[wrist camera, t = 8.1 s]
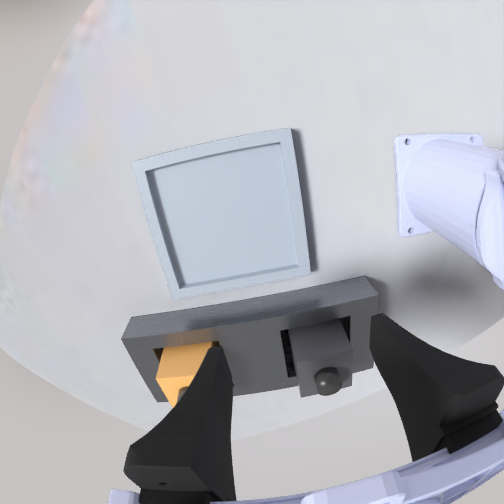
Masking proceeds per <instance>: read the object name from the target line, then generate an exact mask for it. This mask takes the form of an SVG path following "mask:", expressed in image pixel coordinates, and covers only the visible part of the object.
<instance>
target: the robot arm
mask: <svg viewBox="0 0 504 504" xmlns="http://www.w3.org/2000/svg"><path fill="white" fill-rule="evenodd" d="M470 138H471V141H470ZM406 139H407V140H408V144H407V145H406V144H405V140H406ZM394 144H395V155H396V168H397V185H398V217H399V234H400V235H401V236H402V237H409V236H414V235H419V234H424V233H429V232H433V231H434V232H436V233H437V234H439V235H440V236H442V237H443V238H445V239H446V240H448V241H449V242H450V243H452V244H453V245H455V246H456V247H458V248H459V249H460V250H462V251H463V252H464V253H466V254H467V255H469V256H470V257H471V258H473V259H474V260H475V261H477V262H478V263H479V264H481V265H482V266H483V267H485V268H486V269H487V270H489V271H490V272H491V273H492V276H493V282H494V283H495V284H496V285H497V286H499V287H500V288H501V289H502V290H503V291H504V151H502V150H498V149H494V148H489V147H485V146H483V138H482V136H481V135H480V134H469V133H452V134H415V135H399V136H397V137H396V138H395V140H394ZM409 228H411V231H410V232H408V230H409ZM369 348H370V351H371V354H372V356H373V359H374V362H375V364H376V366H377V368H378V370H379V372H380V374H381V376H382V377H383V379H384V381H385V383H386V385H387V387H388V389H389V391H390V393H391V394H392V396H393V399H394V401H395V403H396V406H397V408H398V411H399V414H400V417H401V420H402V423H403V426H404V429H405V432H406V436H407V440H408V443H409V447H410V452H411V456H412V461H413V462H412V463H409V464H407V465H404V466H401V467H399V468H396V469H393V470H390V471H387V472H385V473H381V474H378V475H375V476H372V477H368V478H365V479H362V480H358V481H355V482H351V483H347V484H343V485H339V486H335V487H331V488H326V489H323V490H317V491H312V492H307V493H302V494H296V495H290V496H282V497H275V498H266V499H257V500H244V501H236V494H235V486H234V476H233V466H232V455H231V417H232V402H233V385H232V374H231V371H230V368H229V365H228V362H227V359H226V356H225V353H224V350H223V347H222V346H217V347H210V348H209V349H208V351H207V353H206V355H205V357H204V359H203V361H202V363H201V365H200V367H199V369H198V371H197V373H196V375H195V376H194V378H193V380H192V382H191V383H190V385H189V386H188V388H187V390H186V391H185V393H184V394H183V396H182V397H181V398H180V400H179V401H178V402H177V404H176V405H175V406H174V408H173V409H172V410H171V411H170V412H169V413H168V414H167V415H166V417H165V418H164V419H163V420H162V421H161V422H160V423H159V424H157V425H156V426H155V427H154V428H153V429H152V430H151V431H150V432H148V434H146V435H145V436H143V437H142V438H140V439H139V440H138V441H136V442H135V443H133V444H132V445H130V448H129V451H128V453H127V457H126V461H125V466H124V473H125V475H126V476H127V477H128V478H129V479H131V480H132V481H133V482H134V483H135V484H136V485H138V486H139V487H140V488H141V491H140V494H139V493H136V492H132V491H124V490H118V489H111V493H110V498H109V503H108V504H450V503H452V502H454V501H455V500H457V499H459V498H461V497H462V496H464V495H466V494H467V493H469V492H470V491H472V490H474V489H475V488H477V487H478V486H480V485H482V484H483V483H485V482H486V481H488V480H489V479H490V478H492V477H493V476H495V475H496V474H498V473H499V472H501V471H502V470H503V469H504V409H503V410H502V411H501V412H500V413H498V411H497V410H496V409H497V408H498V404H497V403H496V402H495V401H496V399H497V397H498V395H499V393H500V392H501V390H502V388H503V386H504V377H503V375H502V374H501V373H500V372H499V371H498V369H497V368H496V367H495V366H494V365H488V364H482V363H476V362H472V361H469V360H465V359H462V358H459V357H456V356H453V355H451V354H448V353H446V352H443V351H441V350H439V349H437V348H435V347H433V346H431V345H429V344H427V343H426V342H424V341H422V340H421V339H419V338H417V337H416V336H414V335H413V334H411V333H410V332H408V331H407V330H405V329H404V328H402V327H401V326H399V325H398V324H397V323H395V322H394V321H393V320H391V319H390V318H388V317H387V316H386V315H384V314H383V313H381V314H377V315H374V316H371V326H370V342H369Z"/></svg>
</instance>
